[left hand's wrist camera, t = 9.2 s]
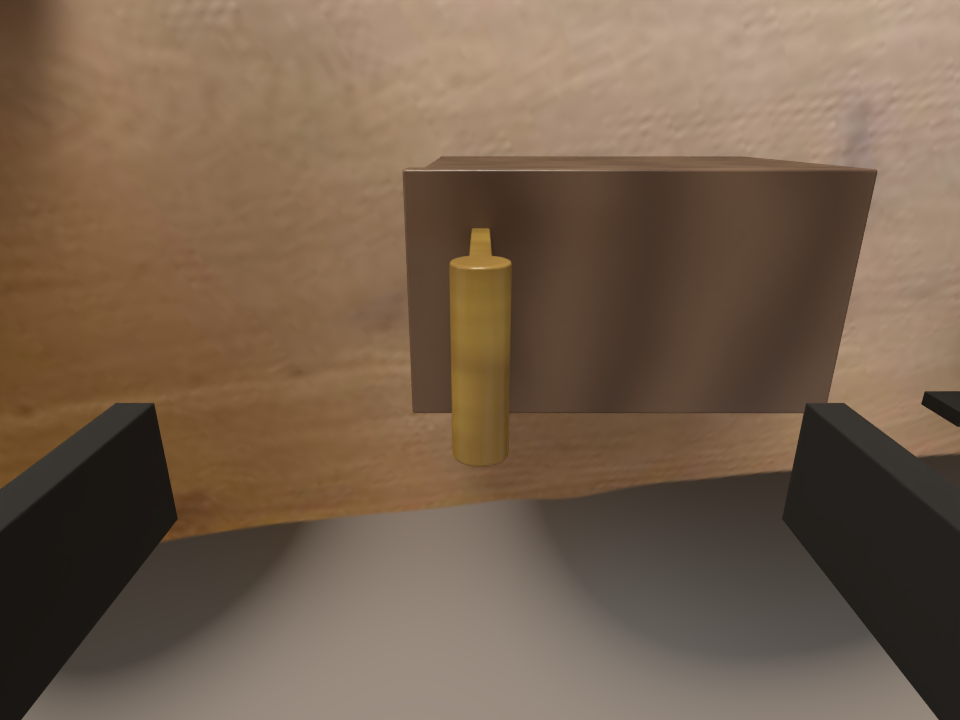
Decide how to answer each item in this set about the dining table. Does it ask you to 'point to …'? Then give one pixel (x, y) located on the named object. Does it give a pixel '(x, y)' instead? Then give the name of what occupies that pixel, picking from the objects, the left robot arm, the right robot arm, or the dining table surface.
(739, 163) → the chest
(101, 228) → the dining table surface
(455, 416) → the lid
